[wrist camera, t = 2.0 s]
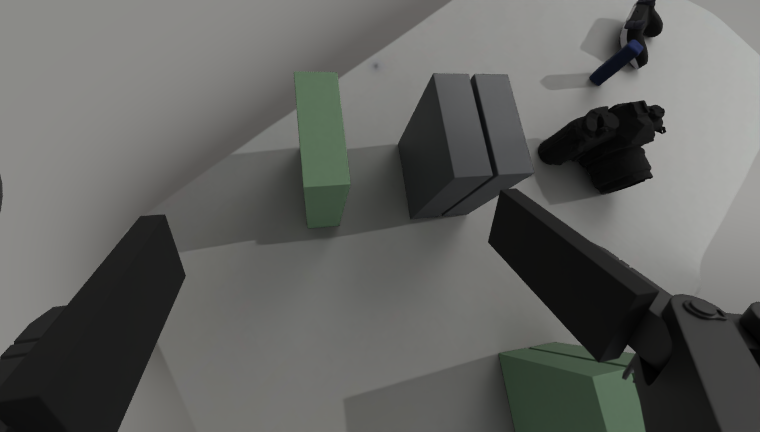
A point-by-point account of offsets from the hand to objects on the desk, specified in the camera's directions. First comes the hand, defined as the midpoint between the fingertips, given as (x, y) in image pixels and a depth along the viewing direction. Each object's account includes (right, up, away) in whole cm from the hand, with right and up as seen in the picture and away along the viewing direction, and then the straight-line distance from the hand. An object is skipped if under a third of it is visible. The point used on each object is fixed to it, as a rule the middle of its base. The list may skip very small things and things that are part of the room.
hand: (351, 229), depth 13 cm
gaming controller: (+43, +30, +42) cm, 67 cm away
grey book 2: (+10, +5, +28) cm, 30 cm away
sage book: (-6, +4, +24) cm, 25 cm away
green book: (+17, -19, +22) cm, 34 cm away
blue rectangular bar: (+35, +22, +38) cm, 56 cm away
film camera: (+31, +8, +33) cm, 45 cm away
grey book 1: (+6, +5, +27) cm, 28 cm away
